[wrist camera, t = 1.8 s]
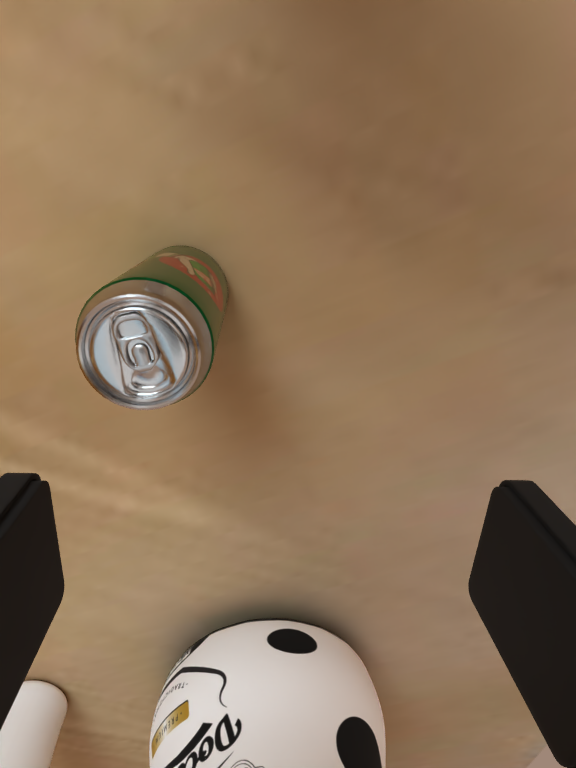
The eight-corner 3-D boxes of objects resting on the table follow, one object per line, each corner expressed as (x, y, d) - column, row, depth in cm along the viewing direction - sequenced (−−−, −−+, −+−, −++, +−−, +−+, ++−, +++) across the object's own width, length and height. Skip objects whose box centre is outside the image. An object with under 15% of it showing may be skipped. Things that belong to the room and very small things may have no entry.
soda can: (156, 339, 29) (94, 432, 18) (128, 255, 27) (40, 300, 16) (238, 321, 29) (227, 404, 18) (216, 235, 27) (188, 267, 16)
